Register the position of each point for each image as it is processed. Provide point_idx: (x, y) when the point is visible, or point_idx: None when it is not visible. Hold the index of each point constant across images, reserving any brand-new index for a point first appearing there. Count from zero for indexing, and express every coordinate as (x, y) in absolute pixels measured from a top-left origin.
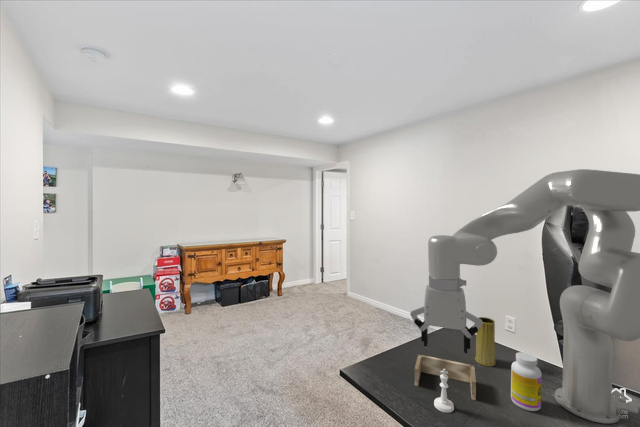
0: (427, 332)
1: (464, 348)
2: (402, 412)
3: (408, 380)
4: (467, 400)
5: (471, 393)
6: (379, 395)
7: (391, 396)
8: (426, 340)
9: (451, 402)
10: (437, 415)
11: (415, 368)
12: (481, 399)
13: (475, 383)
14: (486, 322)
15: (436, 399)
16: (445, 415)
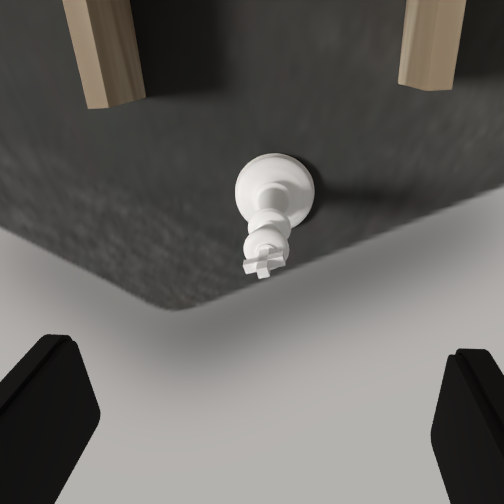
0: (5, 443)
1: (447, 485)
2: (147, 286)
3: None
4: (376, 102)
5: (405, 68)
6: (41, 236)
7: (80, 222)
8: (70, 473)
9: (304, 181)
10: None
11: (91, 103)
12: None
13: (446, 89)
14: None
15: (242, 191)
16: None
